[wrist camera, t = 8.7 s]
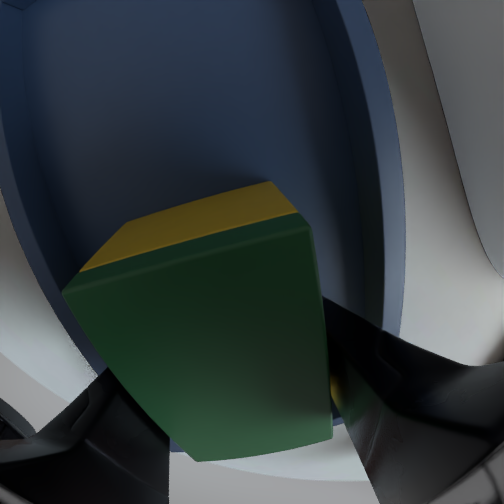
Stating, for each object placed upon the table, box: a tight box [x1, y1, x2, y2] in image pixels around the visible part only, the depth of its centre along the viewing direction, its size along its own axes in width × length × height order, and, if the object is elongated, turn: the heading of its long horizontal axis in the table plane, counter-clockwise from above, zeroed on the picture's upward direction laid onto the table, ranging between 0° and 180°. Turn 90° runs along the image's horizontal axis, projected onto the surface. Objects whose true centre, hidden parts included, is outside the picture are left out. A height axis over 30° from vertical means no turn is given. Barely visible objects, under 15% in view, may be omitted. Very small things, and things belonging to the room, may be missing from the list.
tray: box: [0, 0, 406, 452], centre depth 7 cm, size 11×22×2 cm, turn 14°
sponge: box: [62, 181, 333, 462], centre depth 7 cm, size 4×7×4 cm, turn 14°
